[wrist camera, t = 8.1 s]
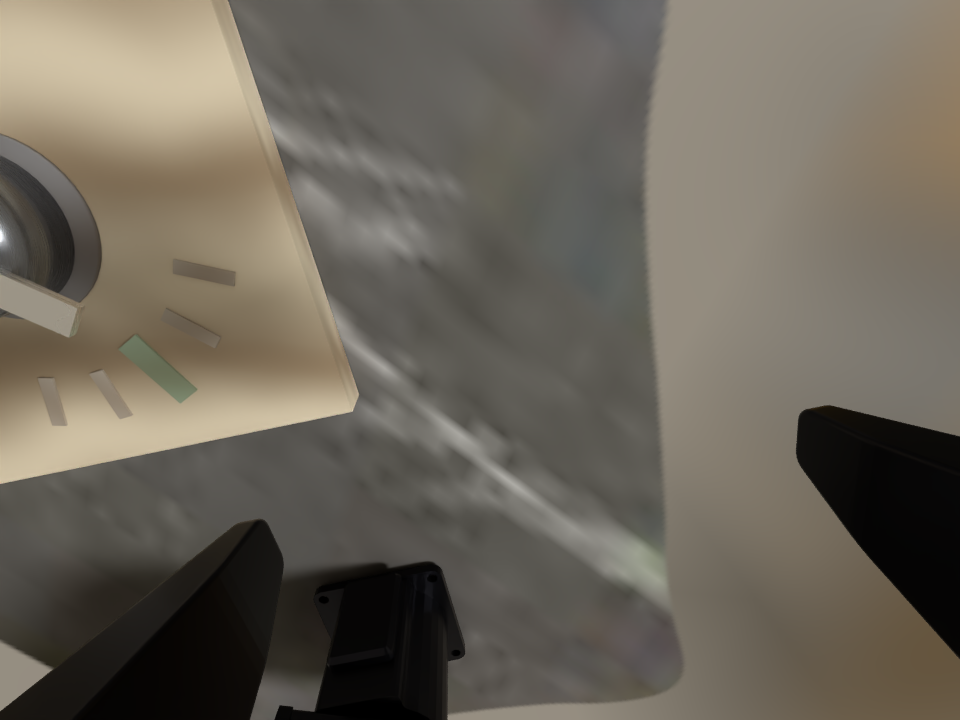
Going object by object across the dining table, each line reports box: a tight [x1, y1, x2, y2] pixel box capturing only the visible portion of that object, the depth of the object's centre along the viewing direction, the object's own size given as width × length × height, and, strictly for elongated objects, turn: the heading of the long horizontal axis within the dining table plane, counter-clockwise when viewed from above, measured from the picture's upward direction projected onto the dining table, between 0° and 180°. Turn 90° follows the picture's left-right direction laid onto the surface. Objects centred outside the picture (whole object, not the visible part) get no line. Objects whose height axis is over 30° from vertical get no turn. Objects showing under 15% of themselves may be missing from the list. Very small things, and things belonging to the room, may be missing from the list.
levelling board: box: [0, 0, 359, 484], centre depth 16 cm, size 20×18×2 cm
